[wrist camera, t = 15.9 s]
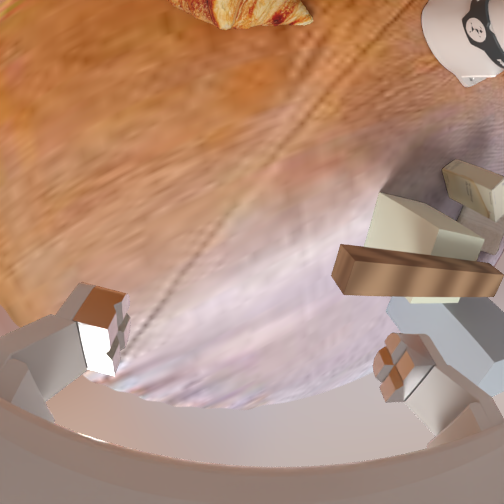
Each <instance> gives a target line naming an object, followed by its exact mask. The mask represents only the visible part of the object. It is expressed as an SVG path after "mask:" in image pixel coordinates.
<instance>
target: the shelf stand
mask: <svg viewBox="0 0 504 504" xmlns="http://www.w3.org/2000/svg"><path fill="white" fill-rule="evenodd" d="M386 312H387V314H388V315H389V317H390V318H391V319H392V321H393V322H394V323H395V325H396V326H397V327H398V329H399V330H400V331H401V333H404V334H426V335H428V336H429V337H430V338H431V340H432V341H433V343H434V345H435V346H436V348H437V349H438V351H439V353H440V354H441V356H442V357H443V359H444V361H445V362H446V364H447V365H450V366H452V367H453V368H454V369H456V370H457V371H458V372H460V373H461V374H462V375H464V376H465V377H466V378H468V379H469V380H470V381H472V382H473V383H474V384H475V385H477V386H478V387H479V388H481V389H482V390H483V391H485V392H486V393H487V394H488V395H490V396H491V397H493V396H495V395H497V394H499V393H501V392H503V391H504V312H503V311H501V309H500V308H499V307H498V306H496V305H495V304H494V303H493V302H492V301H491V300H490V299H489V298H488V297H460V299H459V302H458V303H421V304H410V303H409V302H408V300H407V299H406V298H405V297H394V296H392V298H391V300H390V303H389V305H388V307H387V309H386Z"/></svg>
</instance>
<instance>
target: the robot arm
mask: <svg viewBox="0 0 504 504" xmlns="http://www.w3.org/2000/svg"><path fill="white" fill-rule="evenodd" d="M422 28H423V32H424V36H425V38H426V41H427V43H428V45H429V47H430V49H431V51H432V52H433V54H434V55H435V57H436V58H437V59H438V61H439V62H440V63H441V64H442V65H443V66H444V67H445V68H446V69H448V70H449V71H451V72H452V73H453V74H455V75H456V77H457V78H458V79H459V81H460V82H461V84H462V85H463V86H464V87H471V86H473V85H475V84H477V83H478V82H480V81H482V80H484V79H486V78H488V77H496V74H499V73H501V72H502V71H503V70H504V0H429V2H428V3H427V4H426V6H425V7H424V9H423V12H422ZM129 306H130V300H129V295H128V294H127V293H123V292H119V291H115V290H111V289H107V288H103V287H100V286H95V285H91V284H88V283H84V282H81V283H79V284H78V285H77V286H76V287H75V289H74V290H73V291H72V293H71V294H70V295H69V297H68V298H67V299H66V301H65V302H64V304H63V305H62V306H61V308H60V309H59V311H58V312H57V313H56V315H52V314H50V315H48V316H46V317H43V318H41V319H39V320H37V321H34V322H32V323H30V324H28V325H26V326H23V327H21V328H19V329H17V330H15V331H12V332H10V333H8V334H6V335H4V336H2V337H0V504H504V418H503V416H502V415H501V413H500V411H499V409H498V407H497V406H496V404H495V402H494V400H493V398H492V397H491V396H490V395H488V394H487V393H486V392H485V391H483V390H482V389H481V388H479V387H478V386H477V385H475V384H474V383H473V382H472V381H470V380H469V379H468V378H466V377H465V376H464V375H462V374H461V373H460V372H458V371H457V370H456V369H454V368H453V367H452V366H450V365H447V364H446V362H445V361H444V359H443V357H442V356H441V354H440V353H439V351H438V349H437V348H436V346H435V345H434V343H433V341H432V340H431V338H430V337H429V336H428V335H426V334H404V333H391V334H390V335H389V336H388V337H387V339H386V340H385V347H384V348H382V349H381V350H379V351H378V353H377V355H376V356H375V358H374V363H373V372H374V374H375V377H376V378H377V379H378V380H379V381H380V382H381V385H380V390H381V392H382V395H383V398H384V400H385V402H386V403H387V402H404V403H405V404H406V405H407V406H408V407H409V408H410V409H411V411H412V412H413V413H414V414H415V415H416V416H417V417H418V418H419V419H420V420H421V421H422V423H423V424H424V425H425V426H426V427H427V428H428V429H429V430H430V431H431V433H432V434H433V435H434V436H435V437H434V438H433V439H432V440H431V441H430V442H429V443H428V445H427V449H423V450H419V451H415V452H411V453H406V454H401V455H397V456H391V457H386V458H380V459H374V460H368V461H361V462H353V463H344V464H335V465H321V466H302V467H258V466H239V465H226V464H216V463H207V462H198V461H192V460H185V459H178V458H173V457H168V456H162V455H158V454H153V453H148V452H144V451H140V450H135V449H131V448H127V447H124V446H120V445H116V444H113V443H109V442H106V441H103V440H100V439H96V438H93V437H90V436H87V435H84V434H82V433H79V432H76V431H73V430H70V429H68V428H65V427H63V426H60V425H57V424H55V423H54V421H55V420H54V417H53V415H52V413H51V412H50V410H49V408H48V406H47V404H46V403H45V402H46V401H48V400H49V399H50V398H51V397H53V396H54V395H55V394H57V393H58V392H59V391H61V390H62V389H63V388H65V387H66V386H67V385H69V384H70V383H71V382H73V381H74V380H75V379H77V378H78V377H79V376H81V375H82V374H83V373H85V372H86V371H87V369H90V370H93V371H97V372H101V373H105V374H109V375H113V376H115V373H116V370H117V368H118V365H119V362H120V360H121V355H120V351H121V350H122V349H124V348H125V347H126V344H127V342H128V338H129V333H130V316H129V315H128V314H127V311H128V308H129Z"/></svg>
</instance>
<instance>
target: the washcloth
mask: <svg viewBox="0 0 504 504" xmlns="http://www.w3.org/2000/svg"><path fill="white" fill-rule="evenodd" d="M457 222H458V223H460V224H462V225H463V226H465V227H467V228H468V229H470V230H471V231H473V232H474V233H476V234H478V235H479V236H481V237H482V238H484V239H485V240H484V243H483V245H482V248H481V251H484V252H487V253H489V254H492V255H495V254H496V253H497V251H498V250H499V245H500V242H501V239H502V237H503V235H504V216H502V217H501V218H500V219H499V220H498V221H497V222H496V223H495V222H494V221H492V220H490V219H489V218H487V217H485V216H483V215H481V214H479V213H478V212H476V211H474V210H472V209H470V208H468V207H466V206H465V205H463V208H462V211H461V214H460V216H459V217H458V220H457Z"/></svg>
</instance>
